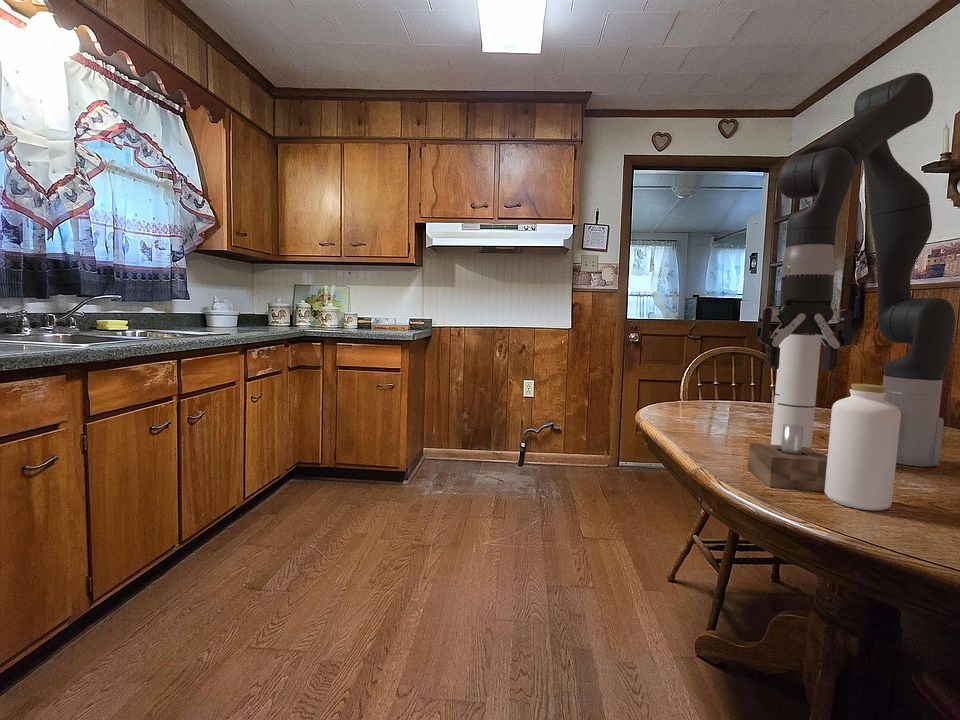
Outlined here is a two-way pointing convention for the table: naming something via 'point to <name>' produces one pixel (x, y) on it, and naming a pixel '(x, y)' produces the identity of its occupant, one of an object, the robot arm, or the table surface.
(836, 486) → the potion bottle
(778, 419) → the cylindrical container
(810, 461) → the walnut block
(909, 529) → the table surface
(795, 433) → the peg
